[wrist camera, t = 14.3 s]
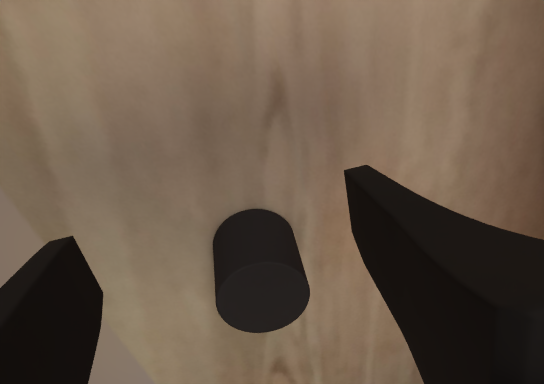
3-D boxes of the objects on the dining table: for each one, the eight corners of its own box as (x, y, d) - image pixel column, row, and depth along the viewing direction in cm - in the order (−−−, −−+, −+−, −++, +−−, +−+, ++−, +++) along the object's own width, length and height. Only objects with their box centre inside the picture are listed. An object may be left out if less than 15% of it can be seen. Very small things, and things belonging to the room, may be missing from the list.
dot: (223, 281, 24) (228, 342, 21) (203, 219, 22) (205, 275, 19) (299, 263, 24) (316, 321, 21) (286, 200, 22) (302, 252, 19)
